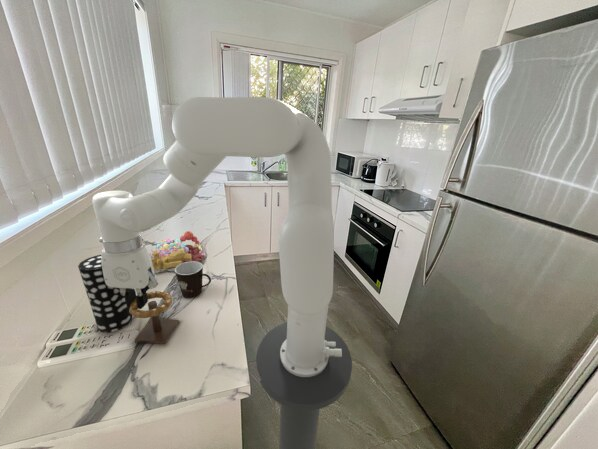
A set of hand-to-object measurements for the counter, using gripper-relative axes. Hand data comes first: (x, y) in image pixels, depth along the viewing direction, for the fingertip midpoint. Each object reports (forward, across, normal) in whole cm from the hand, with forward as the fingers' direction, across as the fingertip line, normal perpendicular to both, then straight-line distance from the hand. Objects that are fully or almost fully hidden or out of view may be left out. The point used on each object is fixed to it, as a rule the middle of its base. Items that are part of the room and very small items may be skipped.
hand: (137, 304), depth 65 cm
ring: (-1, +4, 0) cm, 4 cm away
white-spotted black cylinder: (+9, -10, +3) cm, 14 cm away
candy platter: (+9, -11, +40) cm, 43 cm away
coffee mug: (+9, +7, +17) cm, 21 cm away
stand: (+9, +4, 0) cm, 10 cm away
